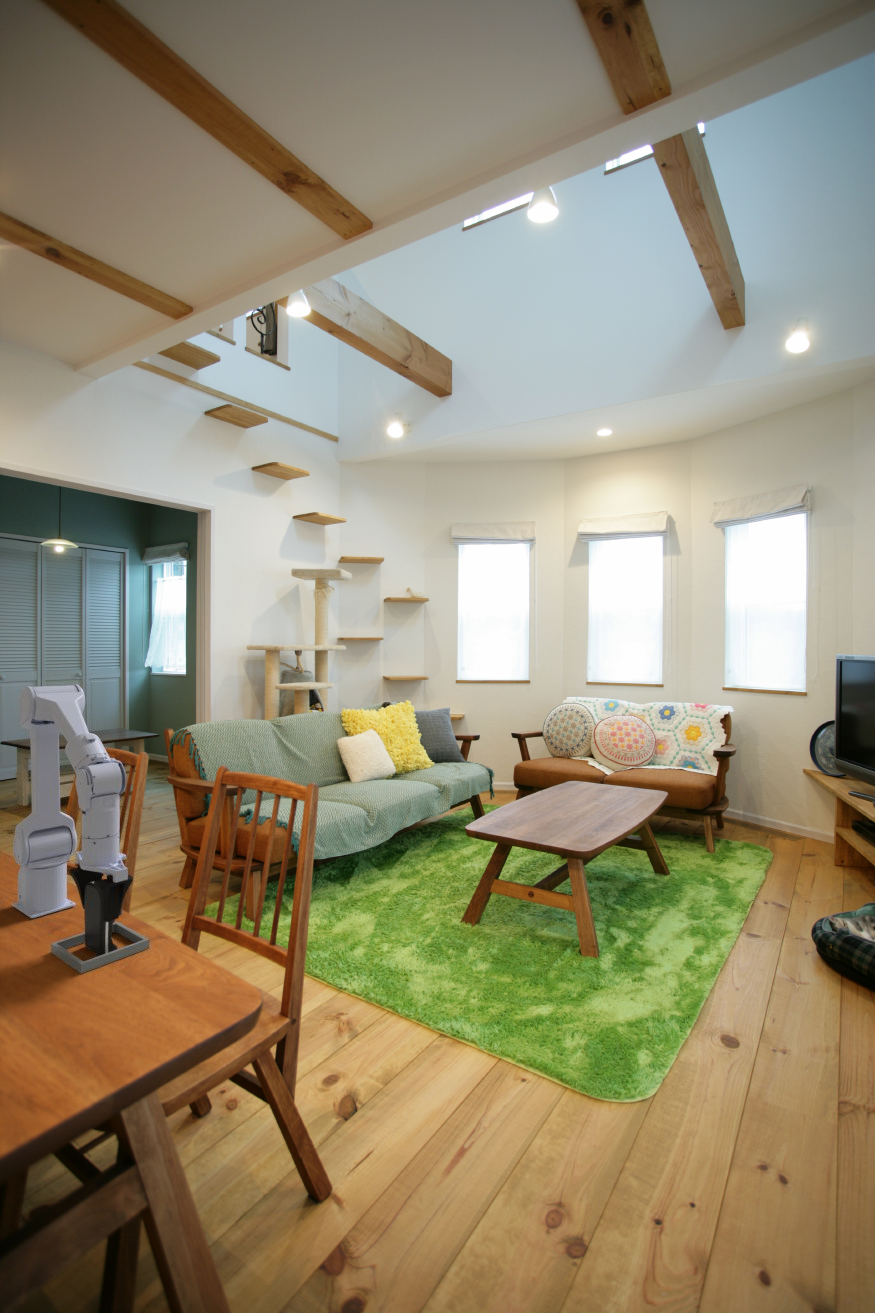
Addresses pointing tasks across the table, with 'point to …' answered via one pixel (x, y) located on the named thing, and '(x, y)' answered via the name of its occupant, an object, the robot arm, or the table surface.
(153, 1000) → the table surface
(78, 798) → the robot arm
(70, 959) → the holder frame
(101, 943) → the battery charger
